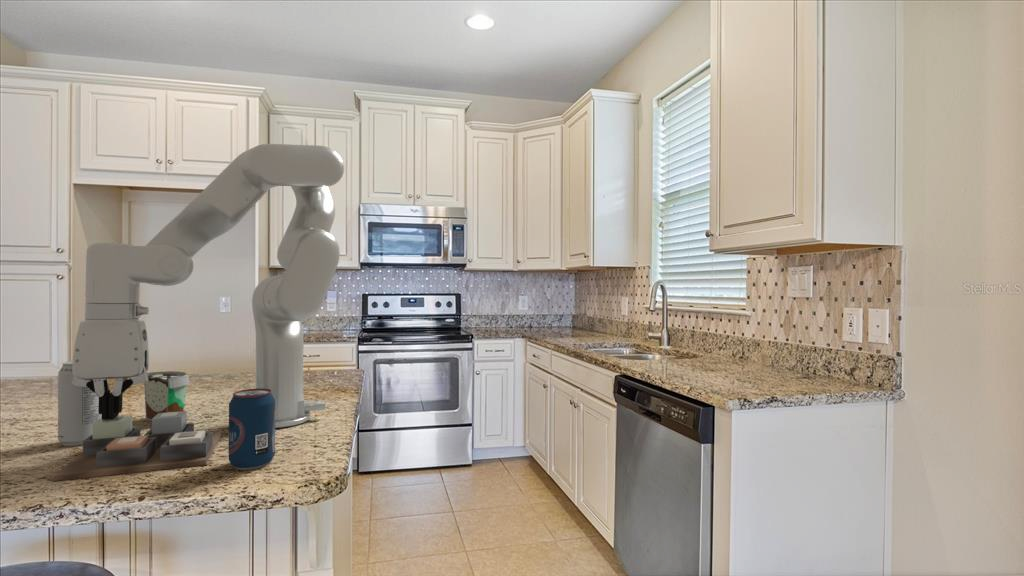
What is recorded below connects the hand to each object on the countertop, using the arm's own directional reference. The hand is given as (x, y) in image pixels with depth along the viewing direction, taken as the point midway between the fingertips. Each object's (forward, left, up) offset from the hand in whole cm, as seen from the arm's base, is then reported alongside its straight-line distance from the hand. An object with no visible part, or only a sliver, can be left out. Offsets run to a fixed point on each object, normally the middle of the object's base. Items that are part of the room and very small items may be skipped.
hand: (110, 417), depth 90 cm
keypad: (-7, +4, -6) cm, 10 cm away
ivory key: (-13, +8, -5) cm, 16 cm away
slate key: (-9, 0, -3) cm, 9 cm away
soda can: (-24, +15, -6) cm, 29 cm away
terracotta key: (-5, +8, -5) cm, 10 cm away
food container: (-5, -22, -6) cm, 24 cm away
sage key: (0, 0, -3) cm, 3 cm away
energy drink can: (+7, -9, -6) cm, 13 cm away
